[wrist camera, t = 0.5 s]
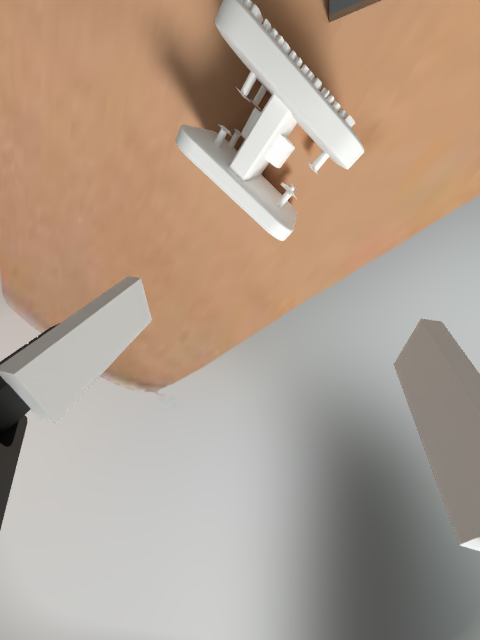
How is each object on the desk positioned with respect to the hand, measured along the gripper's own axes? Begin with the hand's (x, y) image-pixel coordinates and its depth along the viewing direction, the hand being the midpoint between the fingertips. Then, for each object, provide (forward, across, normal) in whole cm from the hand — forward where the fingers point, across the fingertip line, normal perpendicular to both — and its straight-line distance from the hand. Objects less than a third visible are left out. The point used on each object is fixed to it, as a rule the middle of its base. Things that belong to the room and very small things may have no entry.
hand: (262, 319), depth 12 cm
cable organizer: (+26, -3, +7) cm, 28 cm away
